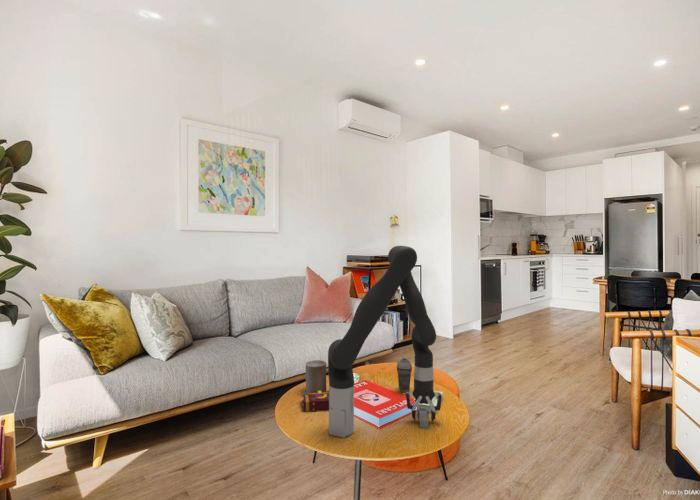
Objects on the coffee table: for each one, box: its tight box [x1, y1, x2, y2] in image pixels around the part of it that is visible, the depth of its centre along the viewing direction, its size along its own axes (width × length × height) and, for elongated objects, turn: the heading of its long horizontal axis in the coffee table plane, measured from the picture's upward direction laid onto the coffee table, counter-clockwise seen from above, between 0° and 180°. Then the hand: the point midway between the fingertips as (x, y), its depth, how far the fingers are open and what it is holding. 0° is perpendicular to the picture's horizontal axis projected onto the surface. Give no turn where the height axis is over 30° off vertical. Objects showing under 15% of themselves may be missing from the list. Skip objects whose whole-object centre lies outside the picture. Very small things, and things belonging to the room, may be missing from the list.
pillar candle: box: [305, 359, 327, 392], centre depth 181 cm, size 10×10×15 cm
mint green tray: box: [413, 390, 444, 415], centre depth 168 cm, size 17×10×3 cm, turn 158°
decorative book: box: [300, 390, 329, 413], centre depth 167 cm, size 11×16×5 cm
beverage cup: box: [396, 348, 413, 395], centre depth 182 cm, size 7×7×20 cm
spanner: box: [416, 406, 429, 430], centre depth 153 cm, size 13×4×3 cm, turn 173°
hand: (423, 419), depth 152 cm, fingers open, 6 cm apart
